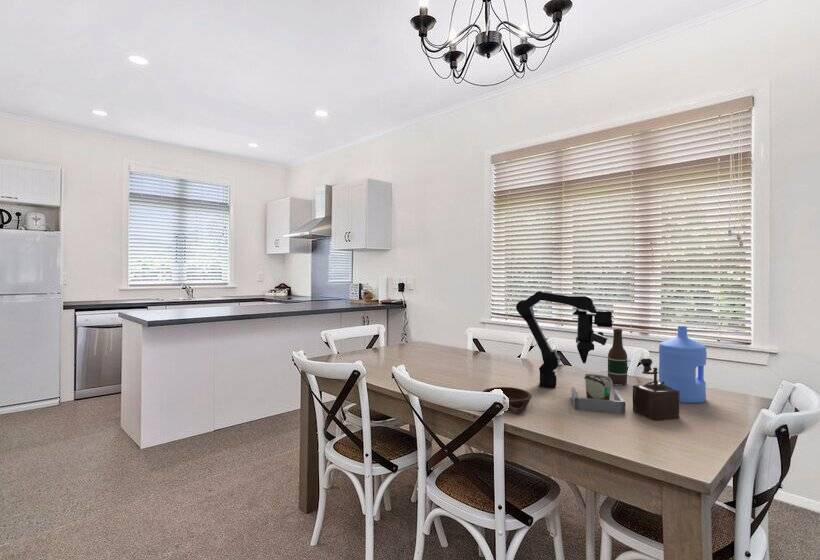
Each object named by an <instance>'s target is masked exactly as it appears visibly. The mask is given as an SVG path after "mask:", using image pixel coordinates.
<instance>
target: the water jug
mask: <svg viewBox="0 0 820 560" xmlns="http://www.w3.org/2000/svg"><path fill="white" fill-rule="evenodd" d="M658 345H659V347H658V355H659V356H658V364H659V365H658V382H660V383H662V382H663V381H664V382H665V383H664V384H665V385H666V386H669V387H671V388H672V389H675V390H677V391H679V392H680V403H682V404H702V403H704V402H706V401H707V394H706V388H707V385H706V384H707V383H706V381H705V379H704V378H705V377H704V376H705V375H704V370H705V369H704V367H705V366H706V365H707V357H708V356H707V347H706V346H705V345H703V344H702V343H699V342H697V341H696V340H693V339H691V338H689V337H688V326H685V325H684V326H683V325H679V326H677V336H675V337H673V338H670V339H667V340H663V341H661V342H659V344H658ZM696 370H697V372H696ZM696 373H697V374H696ZM696 375H697V377H696Z"/></svg>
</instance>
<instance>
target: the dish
mask: <svg viewBox="0 0 820 560" xmlns="http://www.w3.org/2000/svg"><path fill="white" fill-rule="evenodd" d="M494 389H501V390H502V391H503V393H504V394H505V395H506V396H507V397H508V398H509V408H508V410H507V411H506V412H508V411H511V412H512V413H514V414H521V413H523V410H525V409H526V408H527V407H528V405H529V403H530V401H531V399H532V398H533V397H532V396H533V395H532V394H531V393H530V392H529V391H528V390H525V389H521V388H518V387H512V386H511V387H508V386H497V387H491V388H486V389H484V390H483V391H482V393H483V392H490V391H492V390H494Z"/></svg>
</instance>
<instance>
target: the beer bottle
mask: <svg viewBox="0 0 820 560" xmlns="http://www.w3.org/2000/svg"><path fill="white" fill-rule="evenodd" d="M612 332H613V340H612V346H611V348H610V349H609V350H608V353H607V377H609V378H611V380H612V382H613V385H616V384H618V385H617V386H625V385H627V384H628V353H627V351H626V350H625V347H624V345H623V329H622V328H614V329H613V331H612ZM626 383H627V384H626Z"/></svg>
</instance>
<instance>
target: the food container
mask: <svg viewBox="0 0 820 560" xmlns="http://www.w3.org/2000/svg"><path fill="white" fill-rule="evenodd" d="M584 380H585V392H586V393H585V395H586V397H585V398H591V399H603V400H611V391H612V390H611V389H612V387H614V384H613V382H612V380H611V378H609V377H608V375H607V376H606V375H602V374H595V373H585V374H584Z"/></svg>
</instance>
